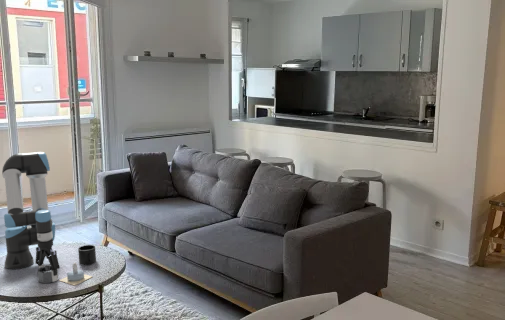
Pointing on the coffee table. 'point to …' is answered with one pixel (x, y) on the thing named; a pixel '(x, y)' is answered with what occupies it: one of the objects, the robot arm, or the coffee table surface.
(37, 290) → the coffee table surface
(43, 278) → the ring
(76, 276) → the hub
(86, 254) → the black cup
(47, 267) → the stand
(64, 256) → the coffee table surface
